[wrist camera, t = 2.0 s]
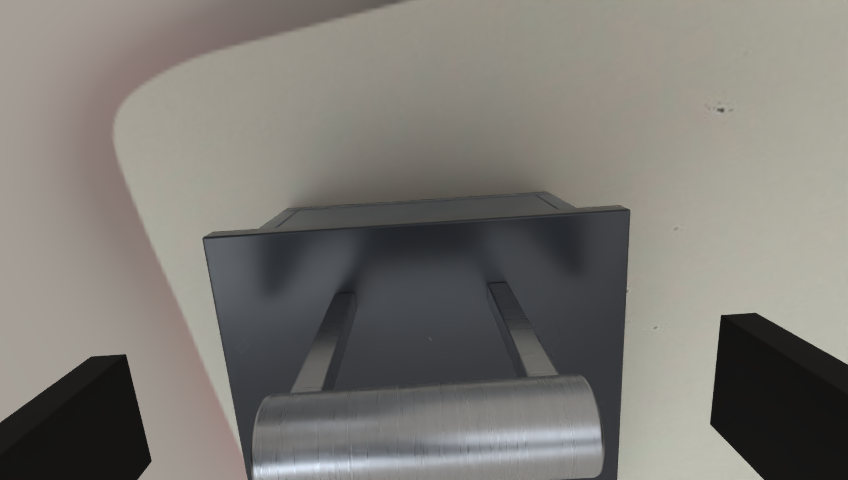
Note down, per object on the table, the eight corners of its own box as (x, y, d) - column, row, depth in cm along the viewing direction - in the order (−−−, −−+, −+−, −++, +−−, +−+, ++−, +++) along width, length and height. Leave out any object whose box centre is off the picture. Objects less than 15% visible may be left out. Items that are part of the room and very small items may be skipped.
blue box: (286, 208, 24) (216, 257, 16) (547, 191, 24) (619, 230, 16) (328, 510, 29) (292, 672, 21) (546, 495, 29) (600, 651, 21)
